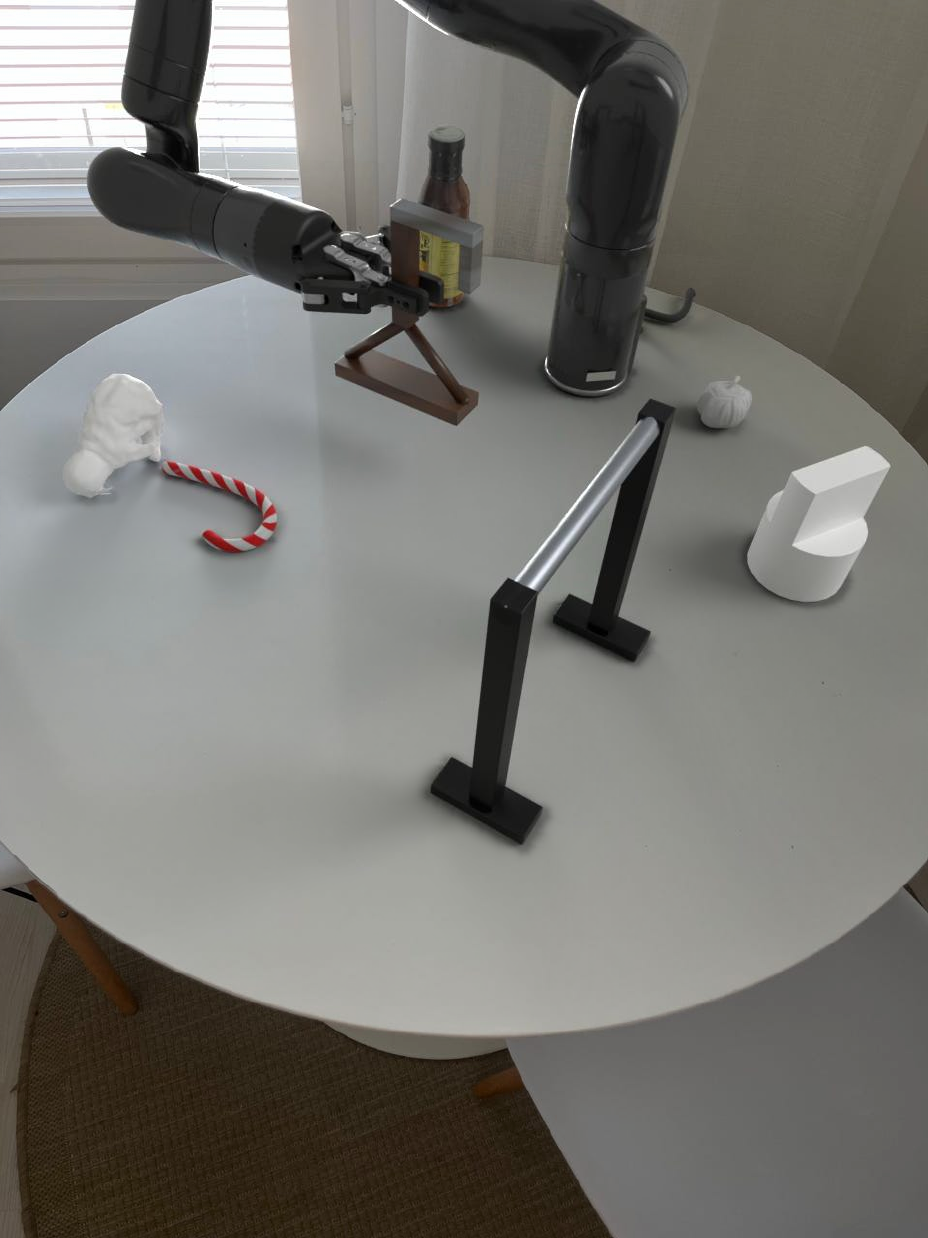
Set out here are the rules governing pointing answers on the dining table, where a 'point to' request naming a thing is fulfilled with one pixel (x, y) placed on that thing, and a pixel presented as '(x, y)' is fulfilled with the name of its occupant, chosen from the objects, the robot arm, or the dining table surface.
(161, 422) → the white lumpy figurine
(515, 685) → the rail
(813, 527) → the cylinder with rectangular tab
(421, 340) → the hanger
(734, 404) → the garlic
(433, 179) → the sauce bottle
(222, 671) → the dining table surface
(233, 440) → the dining table surface
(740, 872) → the dining table surface
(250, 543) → the candy cane
